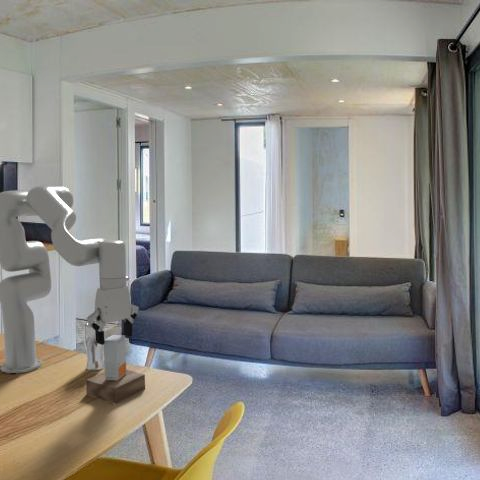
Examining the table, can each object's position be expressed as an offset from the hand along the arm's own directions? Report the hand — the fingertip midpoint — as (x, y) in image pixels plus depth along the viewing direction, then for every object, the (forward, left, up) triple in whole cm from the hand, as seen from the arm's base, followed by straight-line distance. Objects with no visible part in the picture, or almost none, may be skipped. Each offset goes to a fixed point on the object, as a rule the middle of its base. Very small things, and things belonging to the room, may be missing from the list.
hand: (114, 339), depth 143 cm
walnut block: (0, 0, -16) cm, 16 cm away
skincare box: (0, 0, -12) cm, 12 cm away
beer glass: (-22, +7, -16) cm, 28 cm away
